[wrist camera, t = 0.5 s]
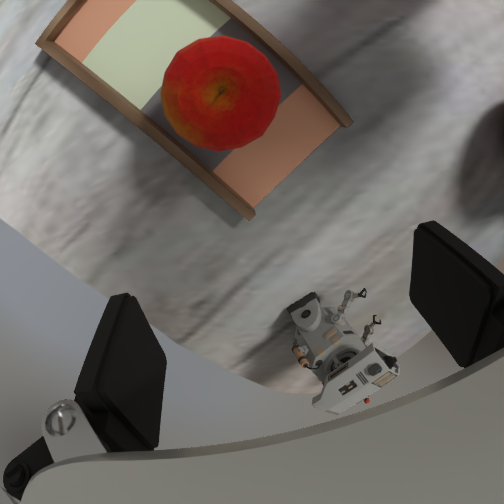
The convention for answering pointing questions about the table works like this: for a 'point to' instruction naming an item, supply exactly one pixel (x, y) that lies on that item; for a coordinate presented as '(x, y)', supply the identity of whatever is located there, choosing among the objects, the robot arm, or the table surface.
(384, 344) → the table surface
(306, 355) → the figurine
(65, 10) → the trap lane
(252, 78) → the apple
